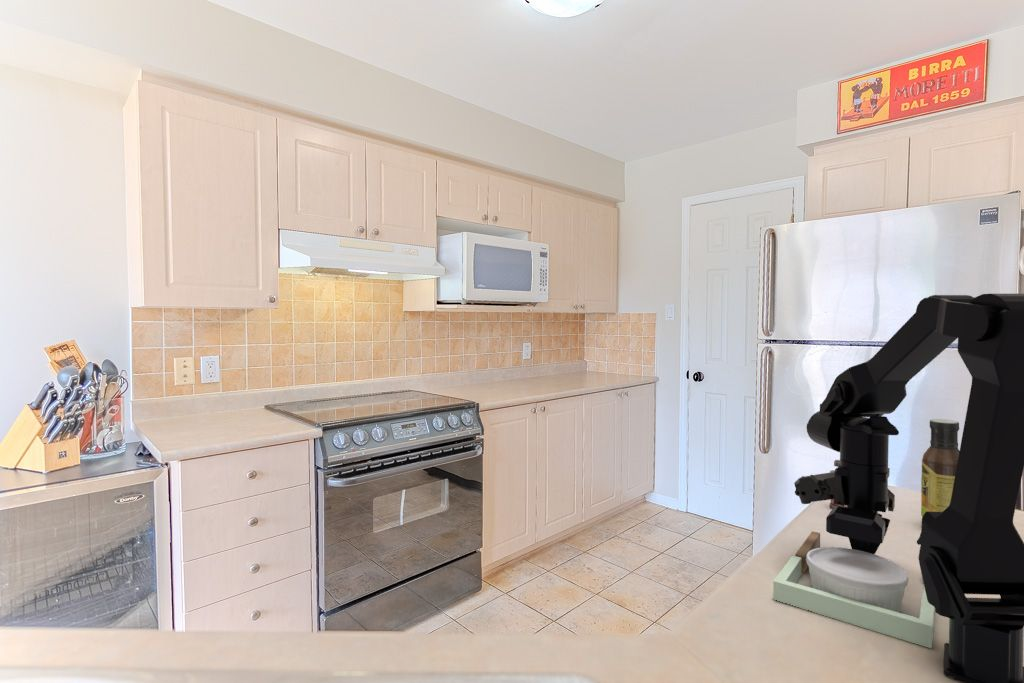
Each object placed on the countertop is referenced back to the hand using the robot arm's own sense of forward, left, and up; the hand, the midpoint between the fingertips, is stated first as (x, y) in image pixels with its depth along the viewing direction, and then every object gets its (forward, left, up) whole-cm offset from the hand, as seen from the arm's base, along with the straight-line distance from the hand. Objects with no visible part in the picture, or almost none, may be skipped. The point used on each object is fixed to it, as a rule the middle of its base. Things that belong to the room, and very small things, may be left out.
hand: (861, 569), depth 75 cm
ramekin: (-8, 0, -2) cm, 8 cm away
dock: (-9, 0, -2) cm, 9 cm away
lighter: (+32, +5, -2) cm, 32 cm away
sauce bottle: (+32, -9, -2) cm, 33 cm away
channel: (+3, 0, -2) cm, 3 cm away
